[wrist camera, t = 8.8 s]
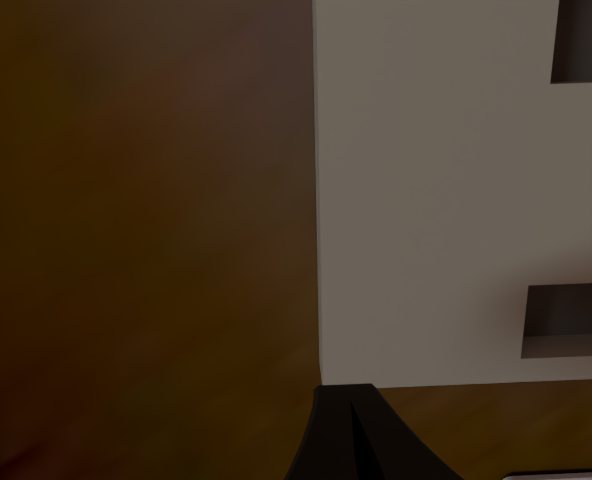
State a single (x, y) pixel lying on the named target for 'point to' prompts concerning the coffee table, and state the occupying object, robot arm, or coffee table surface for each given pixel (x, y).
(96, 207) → the coffee table surface
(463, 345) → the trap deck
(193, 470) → the coffee table surface
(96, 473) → the coffee table surface
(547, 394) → the coffee table surface
